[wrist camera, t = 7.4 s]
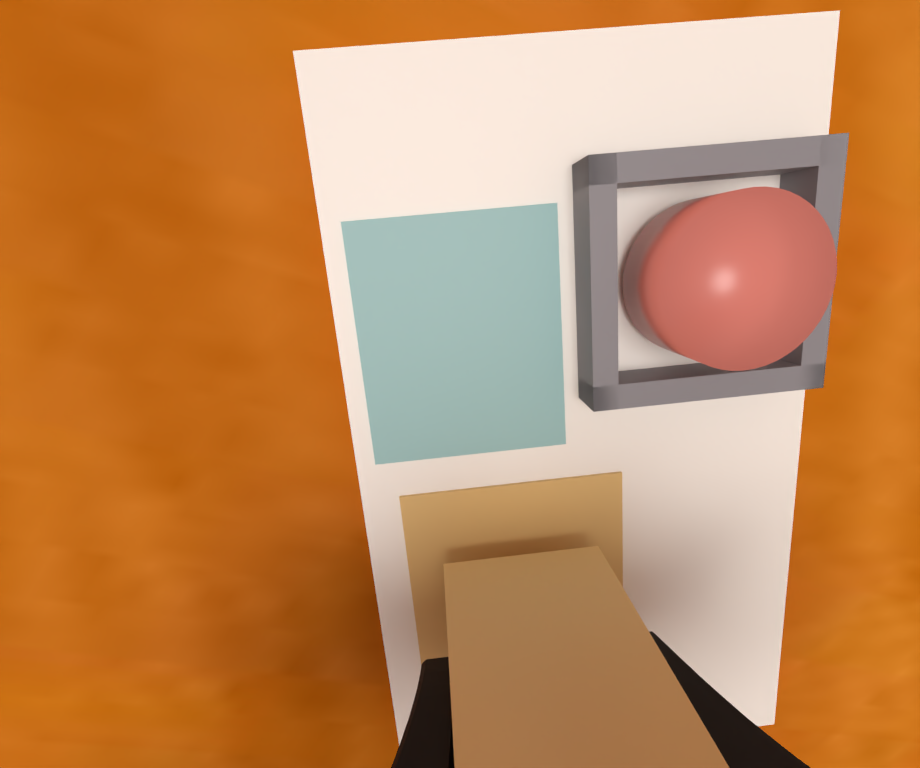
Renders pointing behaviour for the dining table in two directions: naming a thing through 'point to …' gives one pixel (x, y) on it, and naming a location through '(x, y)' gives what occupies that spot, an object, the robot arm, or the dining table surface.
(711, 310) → the button
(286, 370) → the dining table surface
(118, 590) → the dining table surface
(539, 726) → the ochre block
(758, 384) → the white board with squares
